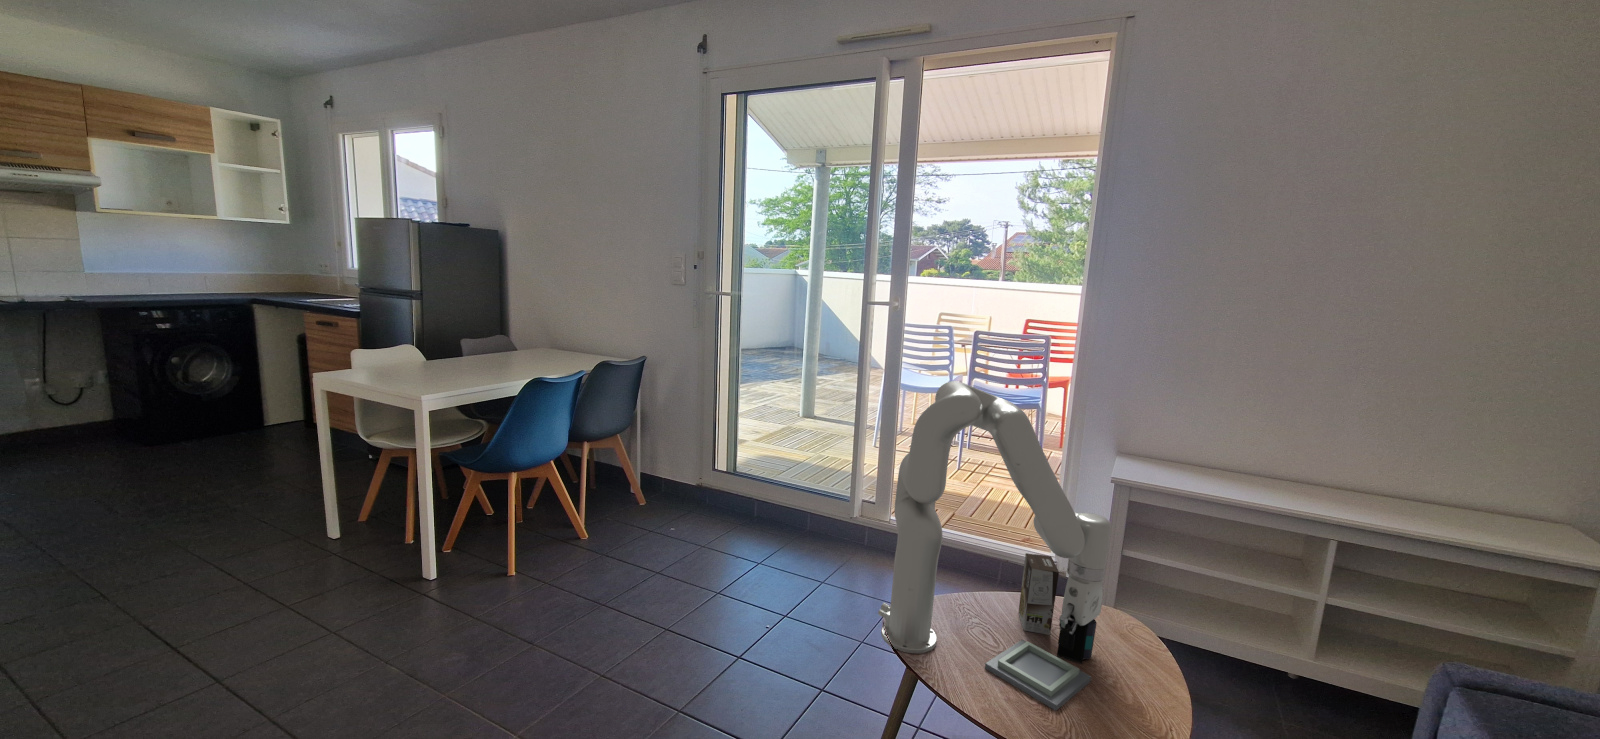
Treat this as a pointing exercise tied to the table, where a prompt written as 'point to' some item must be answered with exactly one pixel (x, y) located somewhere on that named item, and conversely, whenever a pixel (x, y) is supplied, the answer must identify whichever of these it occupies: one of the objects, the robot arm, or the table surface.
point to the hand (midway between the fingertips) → (1075, 639)
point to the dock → (1039, 673)
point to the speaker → (1080, 643)
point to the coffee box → (1038, 593)
